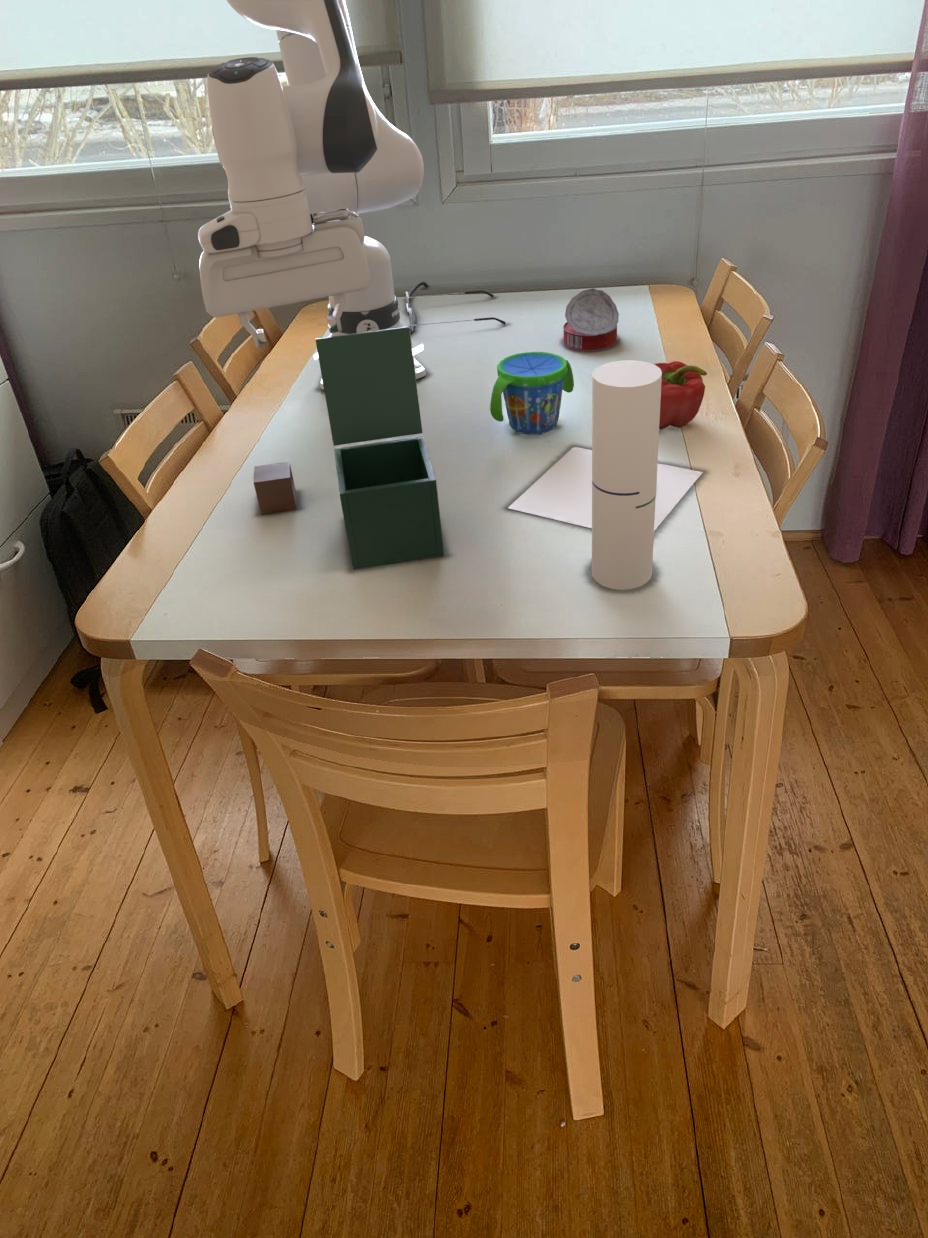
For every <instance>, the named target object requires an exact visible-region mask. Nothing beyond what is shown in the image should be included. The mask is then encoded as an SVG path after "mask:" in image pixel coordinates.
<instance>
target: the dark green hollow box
mask: <svg viewBox="0 0 928 1238" xmlns="http://www.w3.org/2000/svg"><path fill="white" fill-rule="evenodd" d="M333 449H334V450H333V451H334V459H335V467H336V476H337V485H338V492H339V499H340V506H341V510H342V515H343V520H344V528H345V534H346V539H347V544H348V550H349V556H350V561H351V562H350V563H351V566H352V570H353V571H354V570H359V569H360V570H361V569H367V568H372V567H379V566H380V567H381V566H385V565H394V564H398V563H406V562H411V561H420V560H424V559H431V558H437V557H444V556H445V551H444V543H443V542H444V541H443V534H442V533H443V532H442V524H441V514H440V504H439V495H438V486H437V485H438V484H437V478H436V475H435V472H434V469H433V466H432V462H431V459H430V456H429V452H428V449H427V446H426V442H425V439H424V436H423V435H420V436H414V437H406V438H400V439H399V438H398V439H393V440H386V441H378V442H372V443H364V444H357V445H356V444H355V445H350V446H349V445H348V446H343V447H334V448H333Z"/></svg>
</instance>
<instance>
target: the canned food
mask: <svg viewBox="0 0 928 1238" xmlns="http://www.w3.org/2000/svg"><path fill="white" fill-rule="evenodd" d="M619 315H620V312H619V311H618V308H617V305H616V303H615V302H614V301H613V299H612V297H611V296H610V295H609V294H608V293H607V292H605V291H604V290H602V289H596V288H588V289H584V290H581V291H580V292H578V293H577V294H576V295H574V296H573V297H572V298H570V301H569V302H568V304H567V305H566V307H565V312H564V317H565V320H566V322H565V323H564V324H563V327H562V328H563V345H564V347H566V348H568V349H570V350H574V351H578V352H597V351H602V350H607V349H610V348H612V347H613V346H615V345H616V344H617V342H618V323H619V317H620V316H619Z"/></svg>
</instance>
